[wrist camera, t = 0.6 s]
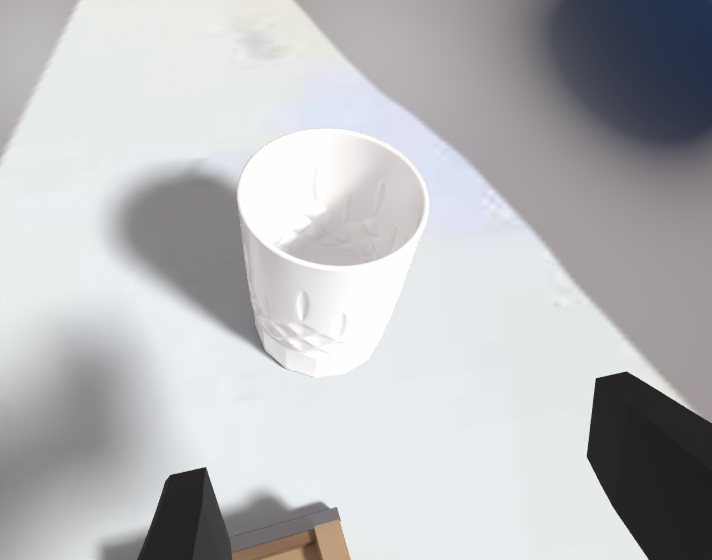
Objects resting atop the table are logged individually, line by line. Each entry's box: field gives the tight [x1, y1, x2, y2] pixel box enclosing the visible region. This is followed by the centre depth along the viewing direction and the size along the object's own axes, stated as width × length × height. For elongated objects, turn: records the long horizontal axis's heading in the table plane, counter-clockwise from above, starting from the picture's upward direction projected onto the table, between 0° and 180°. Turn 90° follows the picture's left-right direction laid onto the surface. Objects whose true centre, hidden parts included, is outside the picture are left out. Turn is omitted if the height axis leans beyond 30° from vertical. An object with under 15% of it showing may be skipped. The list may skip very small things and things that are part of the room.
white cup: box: [237, 128, 429, 377], centre depth 31 cm, size 8×8×10 cm
